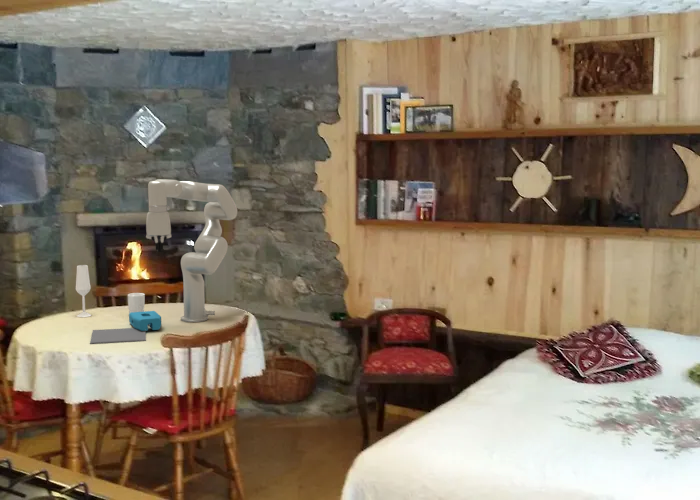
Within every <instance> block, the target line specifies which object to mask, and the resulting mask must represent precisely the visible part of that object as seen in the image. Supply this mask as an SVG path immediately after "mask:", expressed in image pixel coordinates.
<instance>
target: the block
mask: <svg viewBox="0 0 700 500" xmlns="http://www.w3.org/2000/svg"><path fill="white" fill-rule="evenodd" d="M128 323H129V324H130V325H131V326H132V328H135V329H138V330H141V331H145V332H146V331H147V332H148V331H149V328H150V329H151V330H152V331H157V330H160V329H161V327H162V316H161V315H160V314H159V313H158V312H157V311H155V310H148V311H145V310H144V312H131V313H129V312H128ZM148 325H149V326H148Z"/></svg>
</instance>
